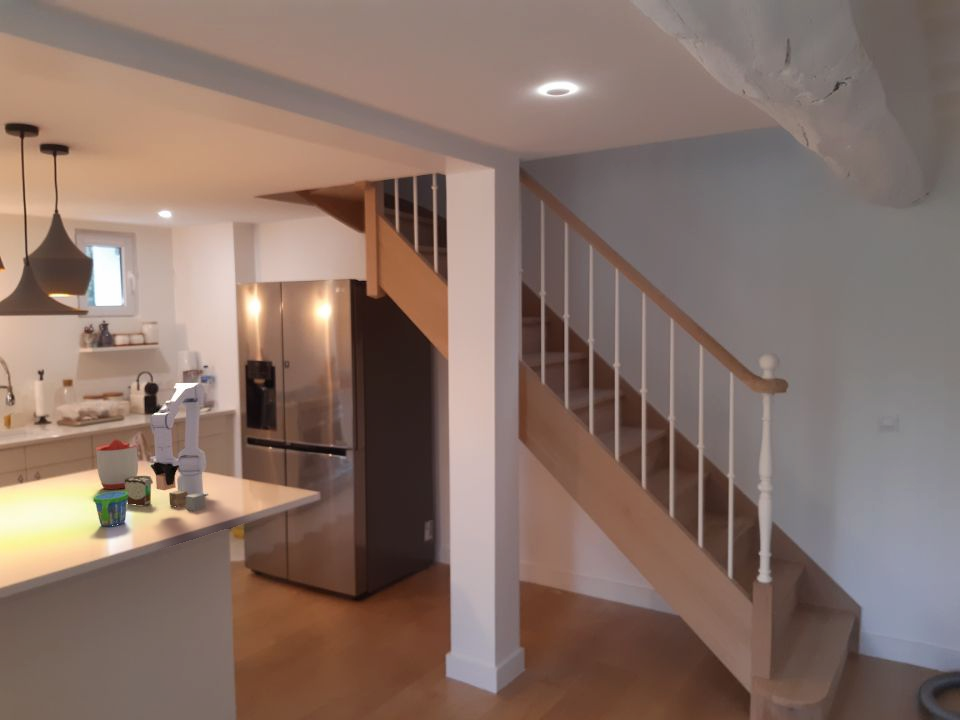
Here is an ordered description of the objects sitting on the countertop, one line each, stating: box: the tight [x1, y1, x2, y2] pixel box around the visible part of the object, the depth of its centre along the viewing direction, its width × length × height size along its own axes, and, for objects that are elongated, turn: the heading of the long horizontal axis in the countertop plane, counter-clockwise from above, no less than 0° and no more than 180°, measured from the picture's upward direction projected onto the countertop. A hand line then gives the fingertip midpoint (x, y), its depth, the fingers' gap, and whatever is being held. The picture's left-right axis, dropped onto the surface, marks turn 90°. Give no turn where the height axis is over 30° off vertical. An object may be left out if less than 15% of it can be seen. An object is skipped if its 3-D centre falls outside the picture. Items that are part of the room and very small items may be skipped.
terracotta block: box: [155, 473, 177, 491], centre depth 262 cm, size 4×4×5 cm
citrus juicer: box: [95, 438, 141, 490], centre depth 305 cm, size 16×17×20 cm
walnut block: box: [168, 489, 188, 508], centre depth 272 cm, size 4×4×5 cm
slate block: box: [185, 493, 206, 512], centre depth 266 cm, size 4×4×5 cm
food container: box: [123, 475, 154, 507], centre depth 276 cm, size 12×6×10 cm, turn 65°
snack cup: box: [92, 490, 128, 527], centre depth 250 cm, size 16×10×10 cm
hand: (165, 483), depth 262 cm, fingers closed on terracotta block, 4 cm apart
